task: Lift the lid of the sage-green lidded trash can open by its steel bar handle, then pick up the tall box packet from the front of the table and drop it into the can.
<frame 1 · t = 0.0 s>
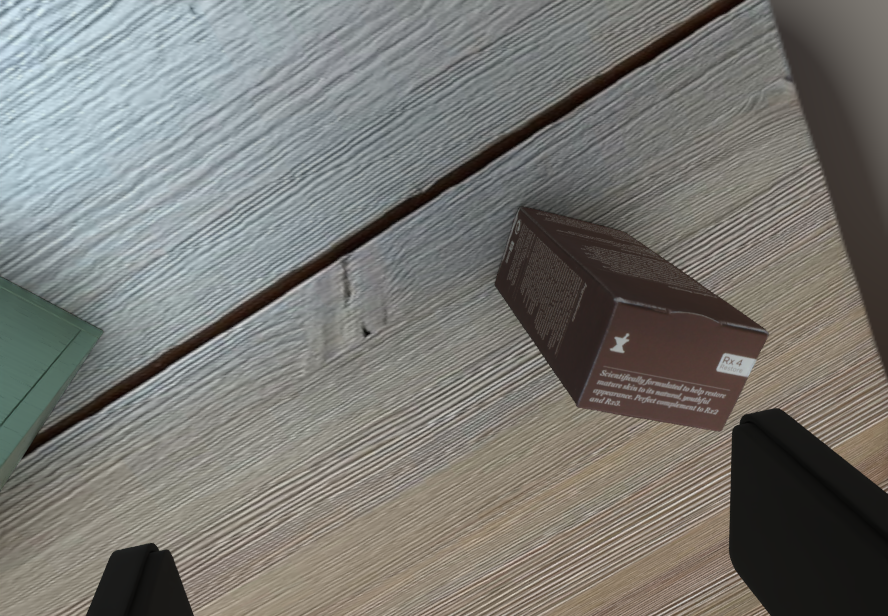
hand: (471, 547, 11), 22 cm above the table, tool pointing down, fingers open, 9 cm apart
box: (558, 260, 34), on the table
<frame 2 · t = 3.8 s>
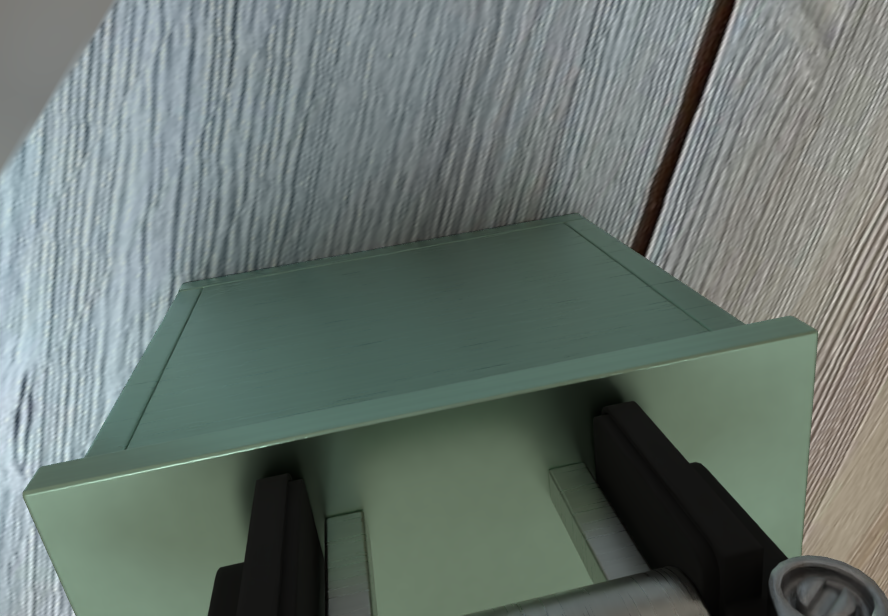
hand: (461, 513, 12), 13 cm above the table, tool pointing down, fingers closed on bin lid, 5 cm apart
trash can: (420, 440, 26), on the table
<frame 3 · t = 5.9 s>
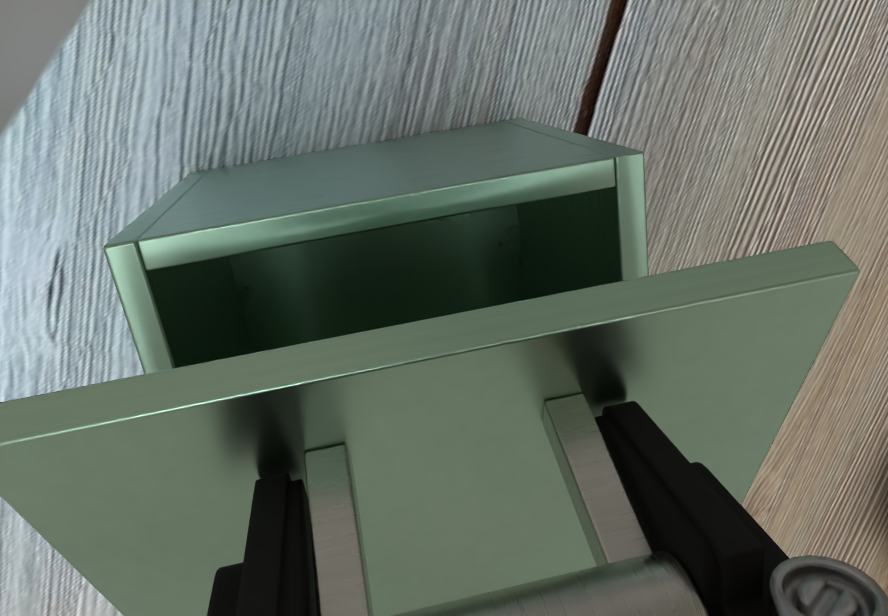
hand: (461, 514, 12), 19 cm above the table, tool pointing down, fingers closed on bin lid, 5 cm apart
trash can: (391, 320, 31), on the table
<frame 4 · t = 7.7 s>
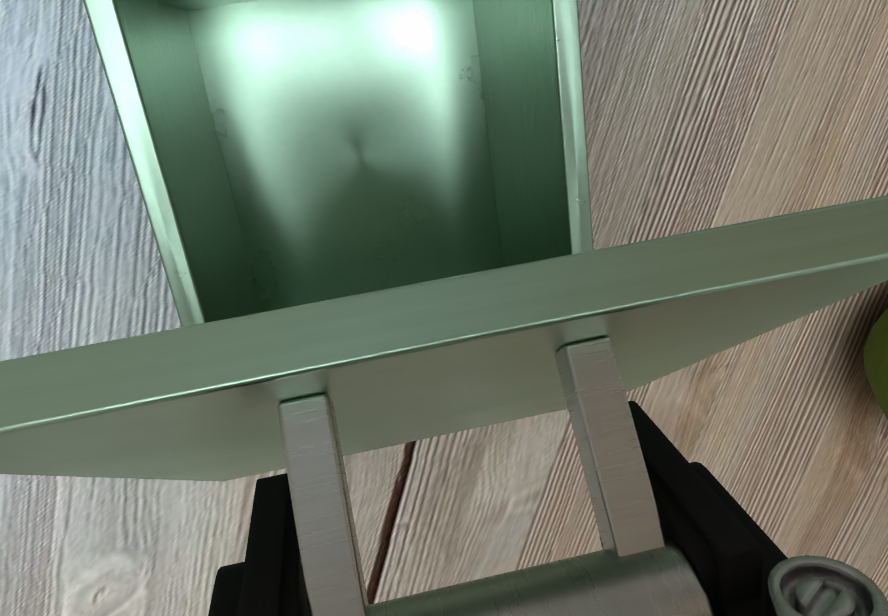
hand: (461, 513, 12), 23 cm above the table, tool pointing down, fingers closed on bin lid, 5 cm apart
bin lid: (447, 499, 15), point 20 cm above the table, hinge at 55.0°, touching gripper
trash can: (359, 154, 32), on the table
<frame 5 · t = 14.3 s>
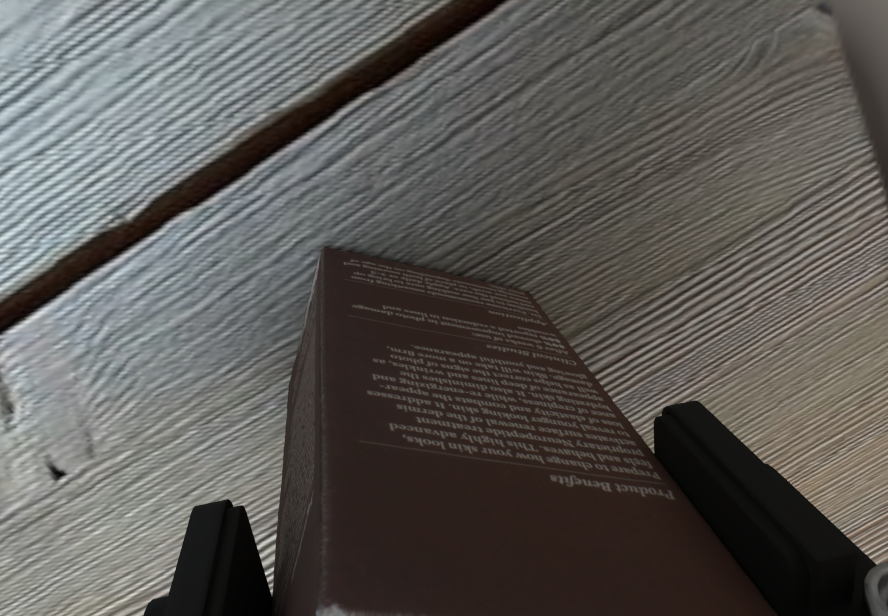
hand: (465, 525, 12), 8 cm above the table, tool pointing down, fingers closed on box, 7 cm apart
box: (410, 339, 19), on the table, touching gripper
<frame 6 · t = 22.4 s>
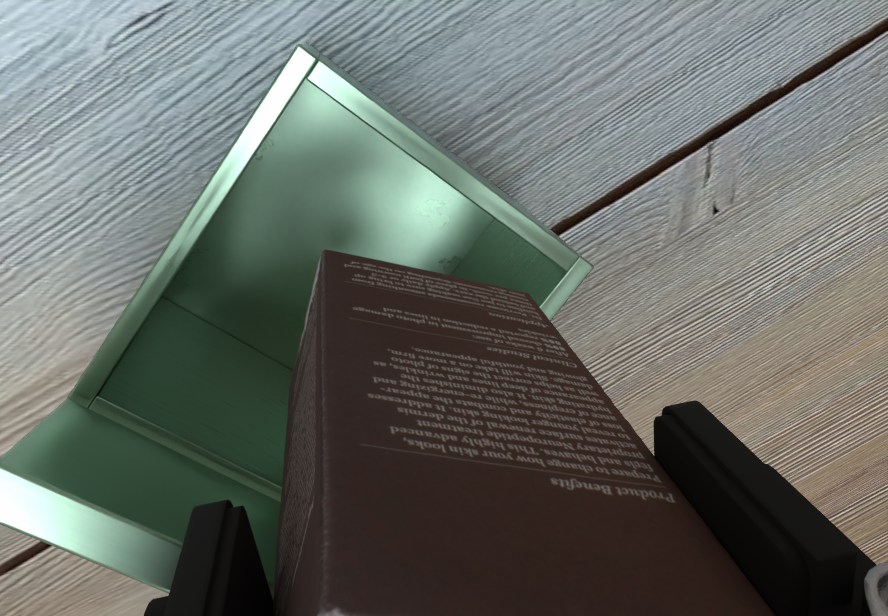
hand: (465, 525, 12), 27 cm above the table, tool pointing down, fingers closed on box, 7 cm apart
bin lid: (224, 613, 19), point 21 cm above the table, hinge at 61.3°, touching gripper
trash can: (333, 247, 37), on the table
box: (410, 341, 19), point 19 cm above the table, touching gripper
when the fingers open (27 cm above the table, at t = 23.1 s): box drops 18 cm, resting on trash can.
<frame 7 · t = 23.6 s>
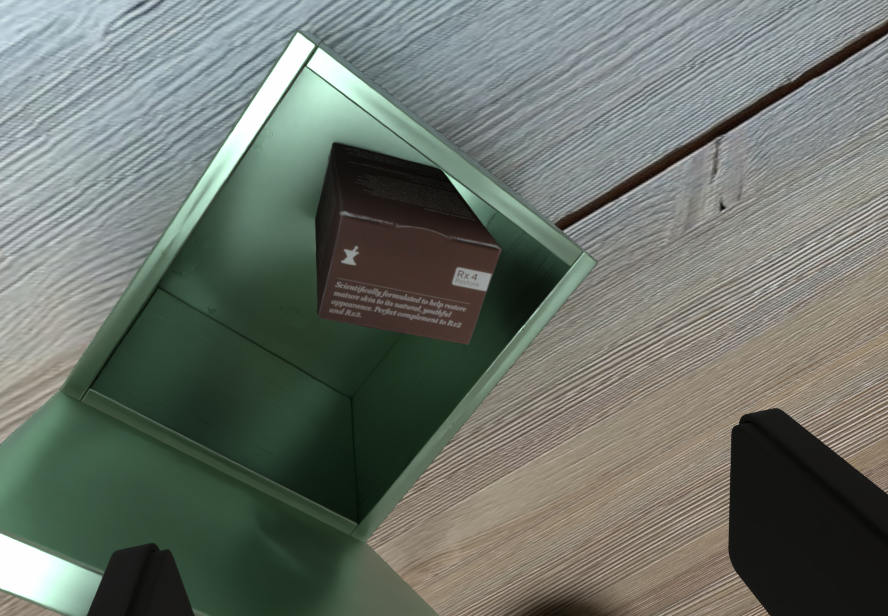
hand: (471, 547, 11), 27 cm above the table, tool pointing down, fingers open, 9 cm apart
trash can: (333, 239, 37), on the table
box: (379, 196, 35), point 1 cm above the table, touching trash can
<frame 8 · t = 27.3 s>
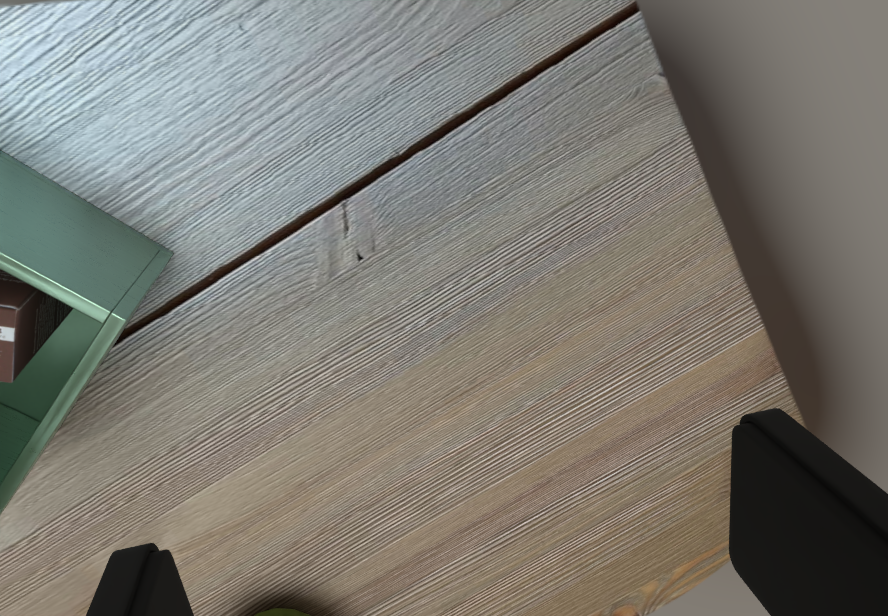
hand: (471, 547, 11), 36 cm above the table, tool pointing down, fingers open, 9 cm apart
trash can: (11, 292, 44), on the table
box: (41, 256, 43), point 1 cm above the table, touching trash can
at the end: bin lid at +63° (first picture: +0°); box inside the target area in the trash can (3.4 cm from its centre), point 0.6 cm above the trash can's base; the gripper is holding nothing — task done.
